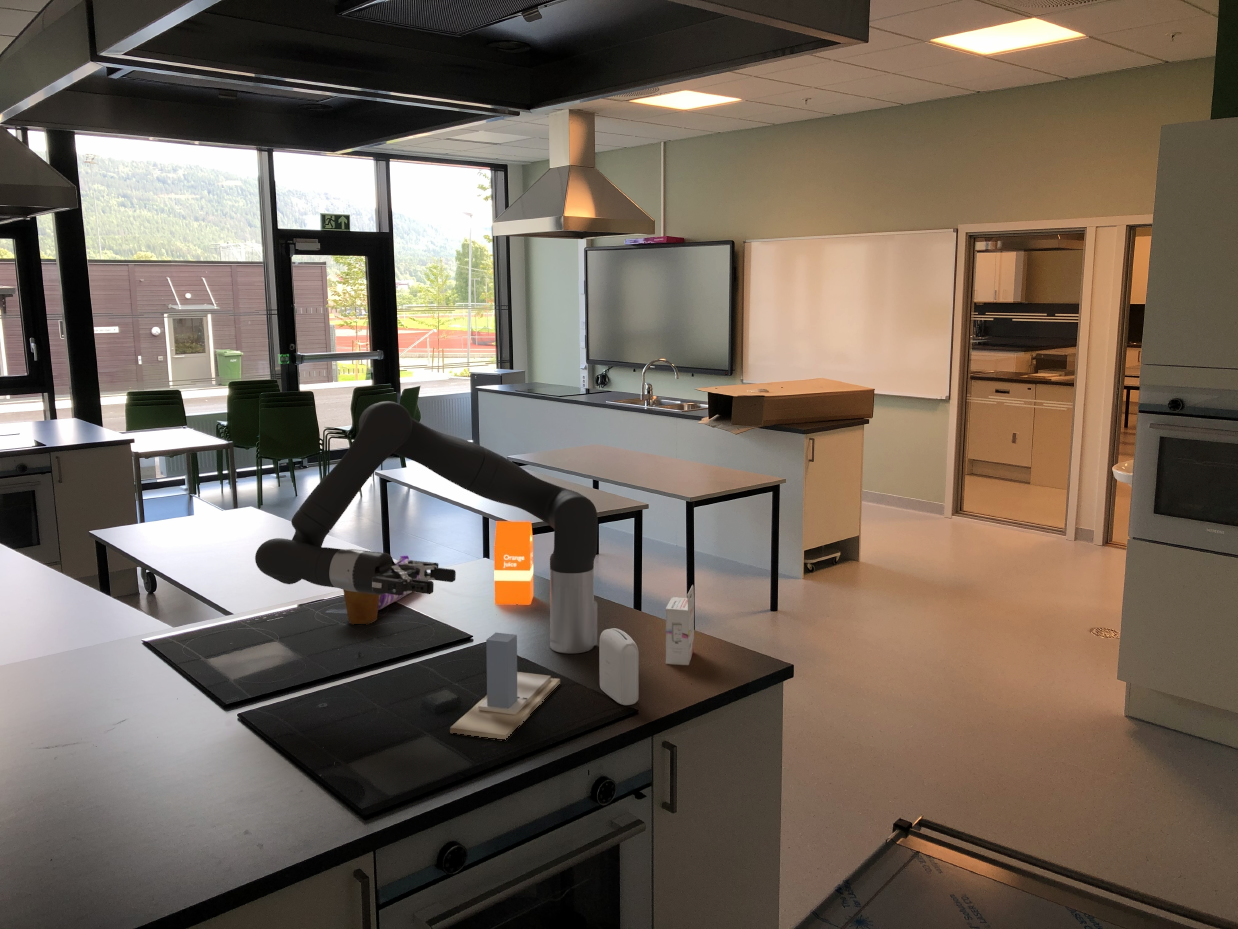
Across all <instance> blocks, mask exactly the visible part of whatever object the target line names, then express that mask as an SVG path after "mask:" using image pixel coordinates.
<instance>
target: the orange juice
mask: <svg viewBox="0 0 1238 929" xmlns="http://www.w3.org/2000/svg"><path fill="white" fill-rule="evenodd" d="M495 522H496V523H495V535H494V546H493V553H494V554H493V557H494V558H493V560H494V563H493V566H494V571H493V572H494V574H493V576H494V605H516V604H518V605H519V606H520V605H528V606H529V605H531V604H532V600H533V599H534V538H533V528H532V527H533V526H532V521H518V520H517V521H516V520H515V521H512V520H511V521H510V520H509V521H504V520H503V521H502V520H499V521H498V520H496V521H495ZM518 605H517V606H518Z"/></svg>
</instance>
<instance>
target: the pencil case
mask: <svg viewBox="0 0 1238 929" xmlns="http://www.w3.org/2000/svg"><path fill="white" fill-rule="evenodd" d="M399 556H400V557H399V559H396V560H395V561H394V563H395V564H396V565H398V564H399V563H408V561H410V560H411V559H409V558H410V557H409V555H399ZM418 578H419V576H417V579H418ZM408 594H409V593H405V592H403V595H400V596H398V595H393V594H387V593H385V594H382V595H379V603H378V611H379V610H382V609H384V608H386V607H387V606H389V605H390V604H392V603H395V602H396V601H398V600H400V599H403V597H406V596H407V595H408Z"/></svg>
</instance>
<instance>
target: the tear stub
mask: <svg viewBox="0 0 1238 929" xmlns="http://www.w3.org/2000/svg"><path fill="white" fill-rule="evenodd" d="M485 642H486V643H485V644H486V646H485V647H486V695H487V699H485V700H484V701H483V702H482V703H481V704H480V705H479V706H478V710H483V711H491V712H498V713H506V714H513V715H516V714H517V713H518V712H519V711H520V710H521V709H522V708H523V707H524V706H525V705H526V700H523V699H517V672H518V634H513V633H502V632H495V633H493V634H492V635H490V636H489V637H488V638H487V639H486V641H485Z"/></svg>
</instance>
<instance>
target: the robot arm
mask: <svg viewBox="0 0 1238 929" xmlns="http://www.w3.org/2000/svg"><path fill="white" fill-rule="evenodd" d="M358 420H359V421H358V430H359V431H358V433H357V434H356V437H355V438H354V440H353V442H352V444H351V445H350V447H349V448H348V450H347V451H346V452H345V454H344V455H343V456H342V458H340V460H339V461H338V462H337V463H336V465H335V466H334V467H333V468H332V469H331V470H330V471H329V472H328V473H327V474H326V475H325V476H324V477H323V478H322V479H321V481H319V483H318V484H317V485H316V486H315V488H313V490H312V491H311V493H309V495H308V496H307V497H306V499H305V500H304V501H303V503H302V504H301V505H300V506H299V508H298V509H297V511H296V512H295V513H294V515H293V516H292V519H291V521H290V522H291V525H292V526H291V527H293V529H294V530H295V532H294V535H293V536H292V539H289V538H282V537H280V538H279V537H276V538H272V539H268V540H265V542H263V543H261V545H259V546H258V548H257V550H256V552H255V556H254V561H255V564H256V567H257V568H258V569H259V571H260V572H261V573H263V574H264V575H266V576H268V577H269V578H272V579H274V580H276V581H277V582H280V583H282V584H285V585H293V584H296V583H298V582H300V581H301V580H303V581H306V582H308V583H310V584H313V585H316V586H320V587H327V588H336V589H339V590H347V591H353V592H361V593H368V594H376V595H382V594H385V593H387V594H393V595H398V596H400V595H403V592H405V593H408V594H411V593H417V594H425V595H431V594H433V592H434V589H435V588H434V587H435V586H434V581H438V582H439V581H440V582H446V583H447V582H448V583H454V582H455V581H456V579H457V578H456V574H457V572H456V570H455V569H454V568H453V569H452V568H444V567H439V563H438V562H430V561H429V562H428V561H422V560H421V561H420V560H412V559H409V560H410V561H408V563H399V564H398V565H396V564H395V563H394V562H395V561H394V559H393V557H392V556H391V554H389V553H387V552H379V551H372V550H365V549H364V550H363V549H355V548H354V549H353V548H351V549H350V548H349V549H343V548H334V547H326V546H325V547H323V544H324V541H325V539H326V537H327V535H328V534H329V533H330V532H331V531H332V529H333V528H334V527H335V525H336V524H337V522H338V521H339V519H340V518H341V517H342V516H343V514H345V511H346V510H347V509H348V507H349V506H350V505H351V503H352V502H353V501H354V499H355V498H356V497H357V495H358V493H359V492H360V490H361V489H362V488H363V486H364V485H366V484H365V483H367V481H368V480H369V479H370V477H371V476H372V475H374V473H375V472H376V470H378V468H379V467H380V466H381V465H382V464H383V463H384V462H385V461H386V460H387V459H388V458H389V457H390V456H391V455H392V454H394V455H397V456H400V457H403V458H405V459H408V460H411V461H412V462H415V463H417V464H419V465H421V466H423V467H425V468H426V469H428V470H430V471H432V472H433V473H435V474H436V475H438V476H440V477H442V478H444V479H446V480H447V481H448V482H450V483H453V484H455V485H456V486H458V487H460V488H462V489H463V490H467V492H468V491H469V492H470V493H473V494H475V495H476V496H479V497H481V498H484V499H487V500H489V501H493V502H496V503H499V504H503V505H506V506H511V507H515V508H518V509H520V510H523V511H525V512H527V513H529V514H531V515H533V517H536V518H538V520H539V519H540V520H541V521H542V522H544V523H545V524H548V525H549V526H550V527H551V528H553V531H554V532H553V533H554V536H553V537H554V538H553V551H552V552H553V553H551V554H550V556H549V605H550V606H549V610H550V611H549V621H550V622H549V624H550V626H549V627H550V628H549V637H550V638H549V642H550V643H549V647H550V649H551V650H552V651H554V652H557V653H561V654H581V653H586V652H589V651H590V650H592V649H593V648H594V647H595V646H598V602H597V601H596V600H595V598H594V596H595V594H594V593H595V589H594V588H595V586H594V585H595V582H594V581H595V578H594V577H595V575H594V574H595V564H594V563H595V559H596V555H597V550H598V532H599V531H598V527H599V526H598V525H599V522H598V511H597V508H596V506H595V504H594V502H593V501H592V500H591V499H589V498H588V497H587V496H584V495H583V494H581V493H579V492H578V491H575V490H572V489H567V488H565V487H562V486H559V485H557V484H554V483H551V482H548V481H545V480H543V479H541V478H539V477H537V476H535V475H533V474H531V473H530V472H528V471H527V470H526V469H524V468H523V467H521V466H519V465H518V464H516V463H515V462H513V461H511V460H509V459H508V458H507V457H504V456H503V455H500V454H499V453H497V452H494V451H493V450H490V449H489V448H486V447H484V446H482V445H479V444H477V443H475V442H472V441H470V440H467V439H463V438H460V437H457V436H454V435H451V434H448V433H447V434H446V433H443V432H440V431H438V430H436V429H433V428H430V427H429V426H427V425H425V424H423V423H421V422H420V421H418V420H416V419H414V418H412V417H411V414H410V412H409V410H407V408H406V407H404V406H403V405H402V404H400V403H399V402H395V401H389V400H387V401H385V400H384V401H379V402H376V403H373V404H371V405H370V406H368V407H366V408H365V409H364V410H363V411H362V413H361V414H360V416H359V419H358ZM428 570H430V572H428ZM417 576H419V578H418V579H417Z"/></svg>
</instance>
